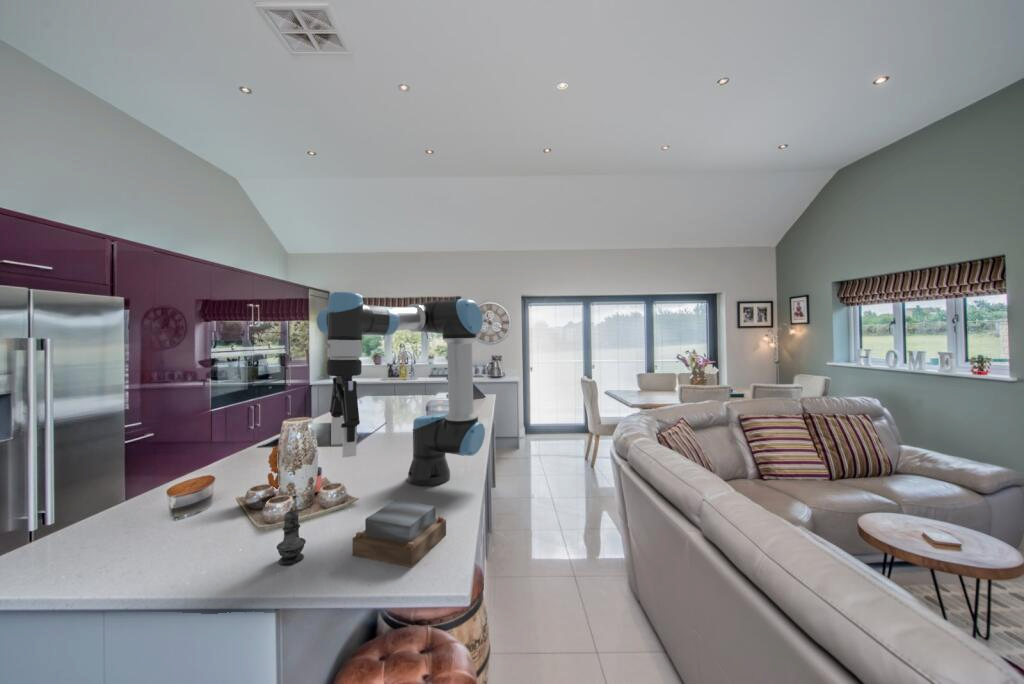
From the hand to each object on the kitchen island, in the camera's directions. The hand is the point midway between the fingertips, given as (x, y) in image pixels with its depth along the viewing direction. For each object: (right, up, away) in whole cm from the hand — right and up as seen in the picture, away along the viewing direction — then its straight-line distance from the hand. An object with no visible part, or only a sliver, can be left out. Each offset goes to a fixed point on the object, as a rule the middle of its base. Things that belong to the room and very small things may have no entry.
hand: (342, 449), depth 93 cm
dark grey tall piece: (-11, -25, -2) cm, 27 cm away
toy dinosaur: (-33, -25, +35) cm, 55 cm away
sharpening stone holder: (+12, -25, +5) cm, 28 cm away
